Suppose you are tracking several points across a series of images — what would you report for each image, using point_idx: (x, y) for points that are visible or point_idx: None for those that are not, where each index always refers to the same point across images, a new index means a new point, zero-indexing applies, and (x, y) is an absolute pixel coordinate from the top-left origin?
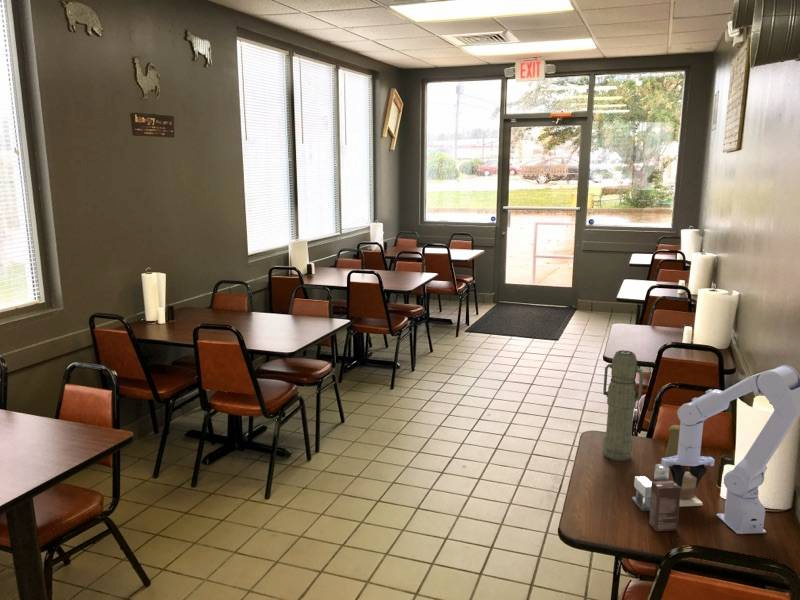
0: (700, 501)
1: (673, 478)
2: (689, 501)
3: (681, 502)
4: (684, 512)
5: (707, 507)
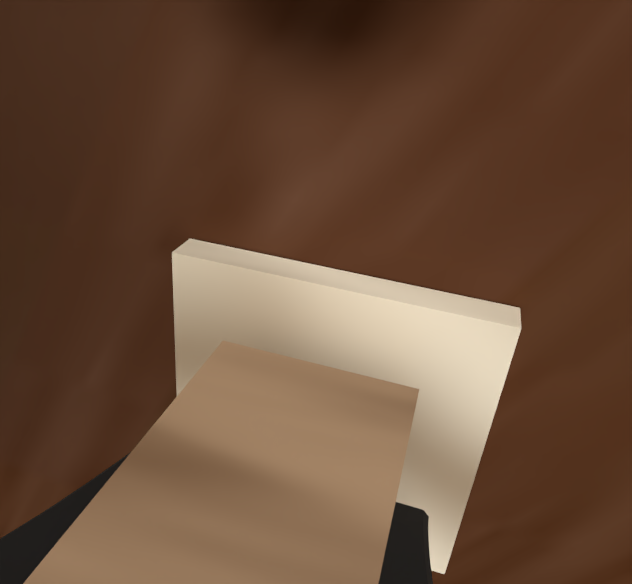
0: (445, 546)
1: (25, 540)
2: None
3: None
4: None
5: (473, 580)
